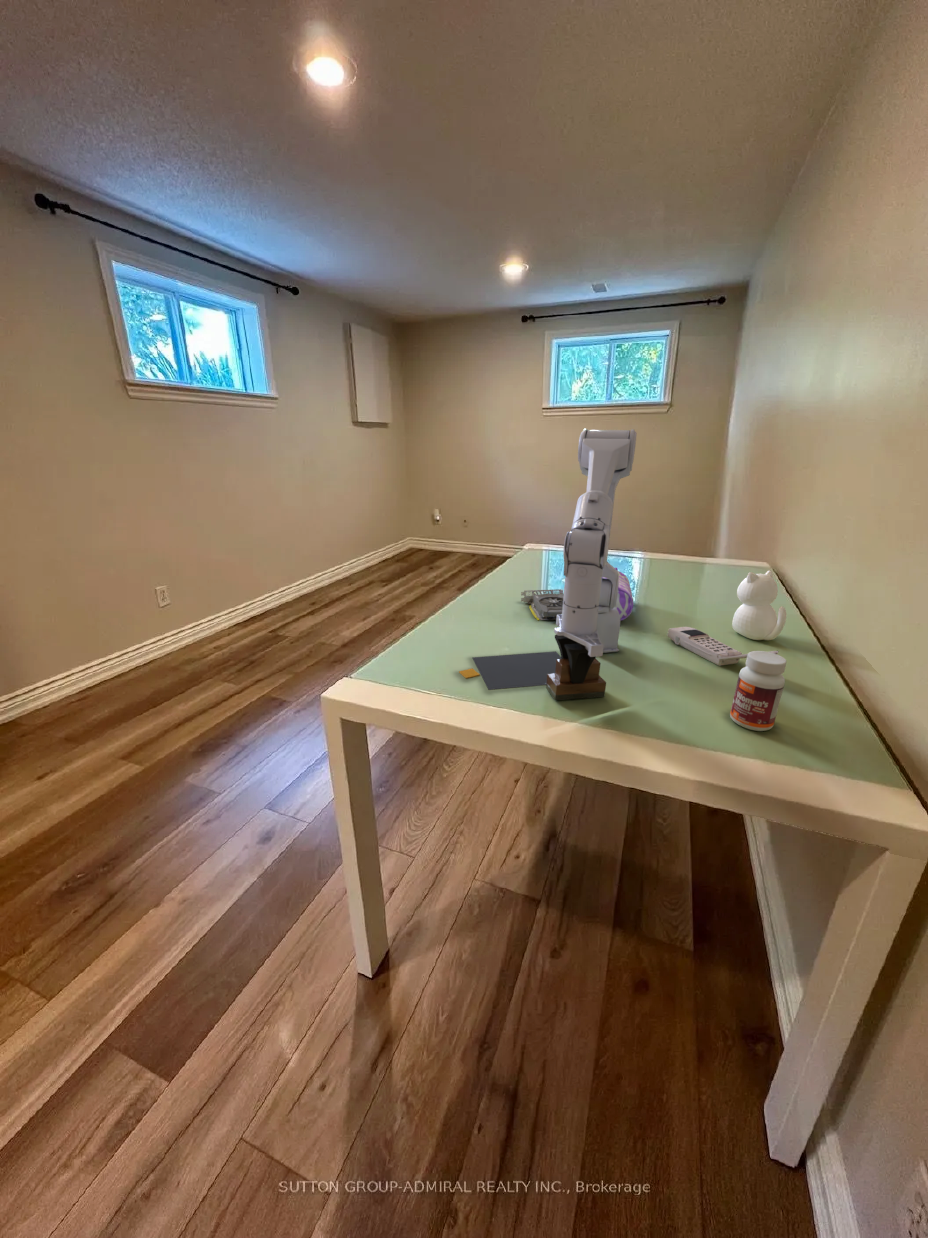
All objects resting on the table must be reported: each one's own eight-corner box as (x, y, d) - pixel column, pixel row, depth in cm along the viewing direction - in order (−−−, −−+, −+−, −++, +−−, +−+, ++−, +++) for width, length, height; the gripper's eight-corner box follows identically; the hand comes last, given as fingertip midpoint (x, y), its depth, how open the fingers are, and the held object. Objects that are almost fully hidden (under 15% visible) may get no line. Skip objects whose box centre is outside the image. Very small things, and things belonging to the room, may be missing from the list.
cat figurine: (746, 625, 120) (759, 565, 115) (794, 644, 109) (811, 578, 104) (718, 629, 117) (730, 568, 112) (764, 649, 106) (781, 582, 101)
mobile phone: (757, 655, 88) (662, 611, 110) (749, 684, 90) (658, 635, 112) (781, 651, 90) (683, 609, 112) (773, 680, 92) (679, 633, 114)
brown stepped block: (593, 684, 88) (597, 654, 86) (604, 696, 84) (609, 665, 82) (545, 688, 87) (548, 657, 85) (555, 700, 82) (558, 668, 80)
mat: (555, 653, 103) (555, 651, 103) (583, 683, 90) (583, 681, 90) (472, 659, 99) (472, 657, 99) (488, 691, 87) (488, 689, 86)
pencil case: (594, 596, 141) (597, 564, 137) (627, 599, 139) (632, 567, 135) (595, 622, 120) (599, 585, 117) (634, 626, 118) (640, 588, 115)
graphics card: (520, 589, 135) (563, 588, 135) (520, 602, 136) (562, 600, 137) (532, 610, 119) (581, 608, 120) (532, 624, 120) (580, 622, 121)
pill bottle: (725, 722, 78) (739, 657, 74) (734, 707, 82) (748, 645, 78) (769, 737, 74) (786, 669, 70) (776, 720, 79) (793, 656, 75)
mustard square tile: (472, 670, 94) (472, 668, 94) (480, 677, 92) (480, 674, 92) (458, 674, 93) (458, 671, 93) (465, 680, 91) (466, 677, 90)
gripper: (542, 591, 86) (537, 662, 90) (575, 619, 72) (568, 700, 77) (580, 589, 87) (573, 659, 92) (619, 617, 74) (609, 697, 78)
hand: (573, 678), depth 84 cm, fingers closed on brown stepped block, 2 cm apart
